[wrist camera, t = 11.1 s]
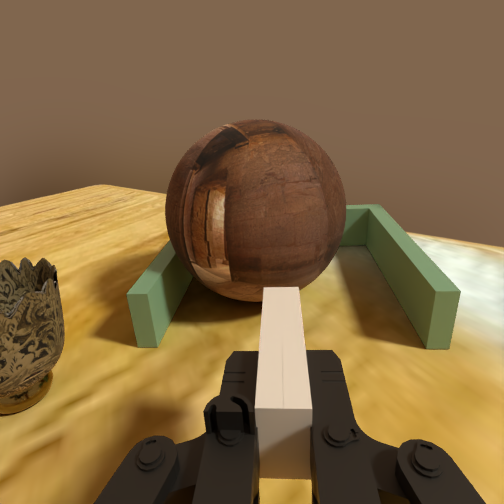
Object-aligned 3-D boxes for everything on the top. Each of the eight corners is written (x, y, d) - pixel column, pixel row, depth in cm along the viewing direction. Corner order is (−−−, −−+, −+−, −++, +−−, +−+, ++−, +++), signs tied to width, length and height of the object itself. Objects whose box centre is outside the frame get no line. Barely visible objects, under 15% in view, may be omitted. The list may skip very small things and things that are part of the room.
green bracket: (449, 348, 24) (460, 291, 22) (137, 347, 26) (126, 294, 24) (376, 240, 43) (379, 204, 41) (198, 244, 45) (193, 210, 43)
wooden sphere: (265, 247, 43) (260, 114, 37) (375, 289, 32) (392, 112, 26) (150, 290, 34) (119, 126, 28) (248, 368, 24) (230, 130, 18)
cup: (-24, 373, 25) (-71, 269, 21) (90, 346, 27) (62, 248, 24) (-76, 468, 18) (-155, 339, 15) (80, 423, 20) (40, 301, 17)
